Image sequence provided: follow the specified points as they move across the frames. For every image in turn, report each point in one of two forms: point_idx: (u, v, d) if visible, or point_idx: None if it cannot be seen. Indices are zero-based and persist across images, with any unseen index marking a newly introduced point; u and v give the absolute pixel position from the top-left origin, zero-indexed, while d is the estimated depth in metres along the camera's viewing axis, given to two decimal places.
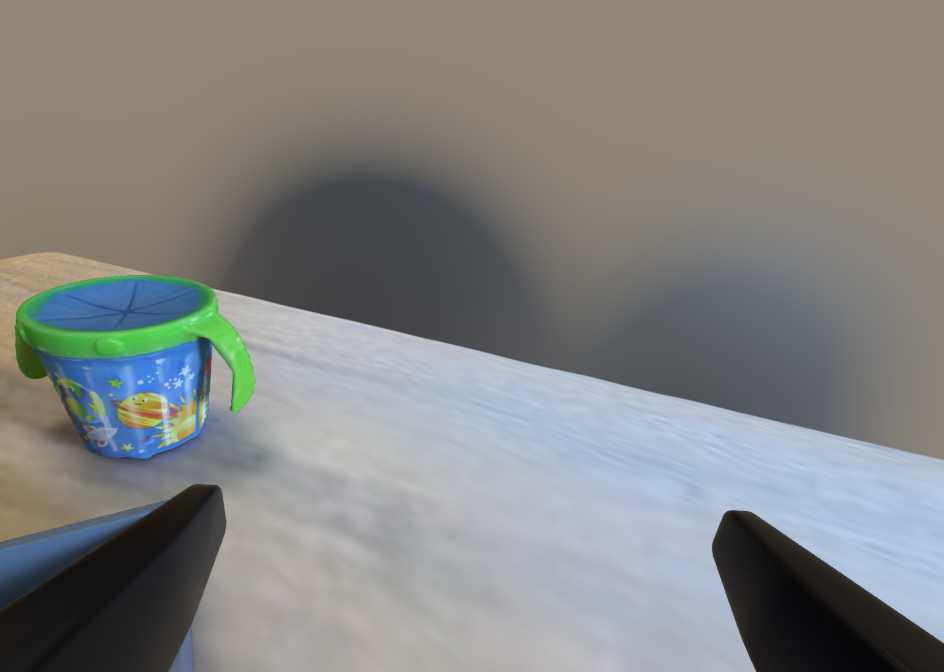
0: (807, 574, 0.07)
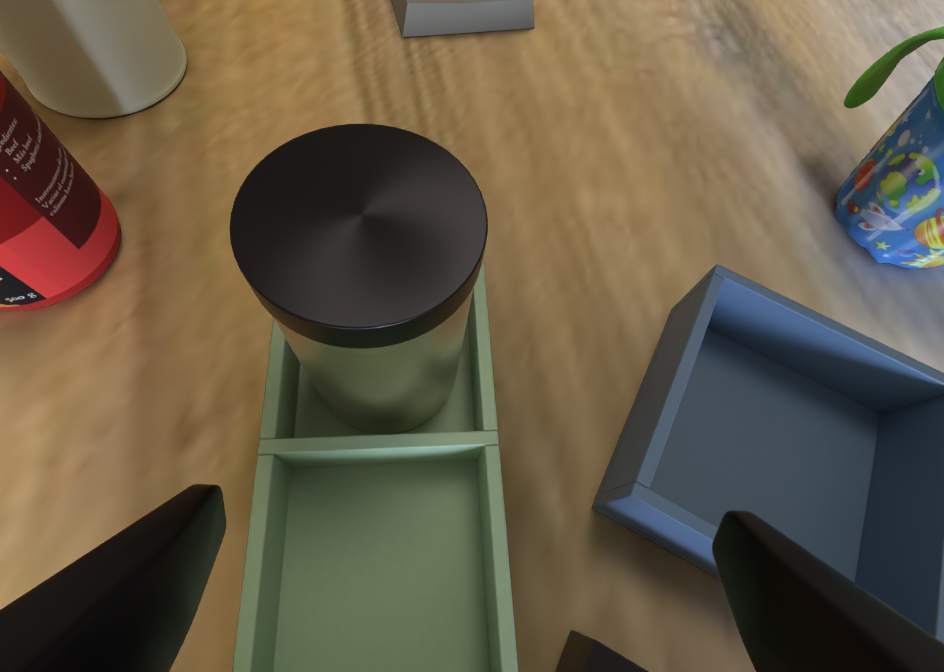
0: (807, 574, 0.07)
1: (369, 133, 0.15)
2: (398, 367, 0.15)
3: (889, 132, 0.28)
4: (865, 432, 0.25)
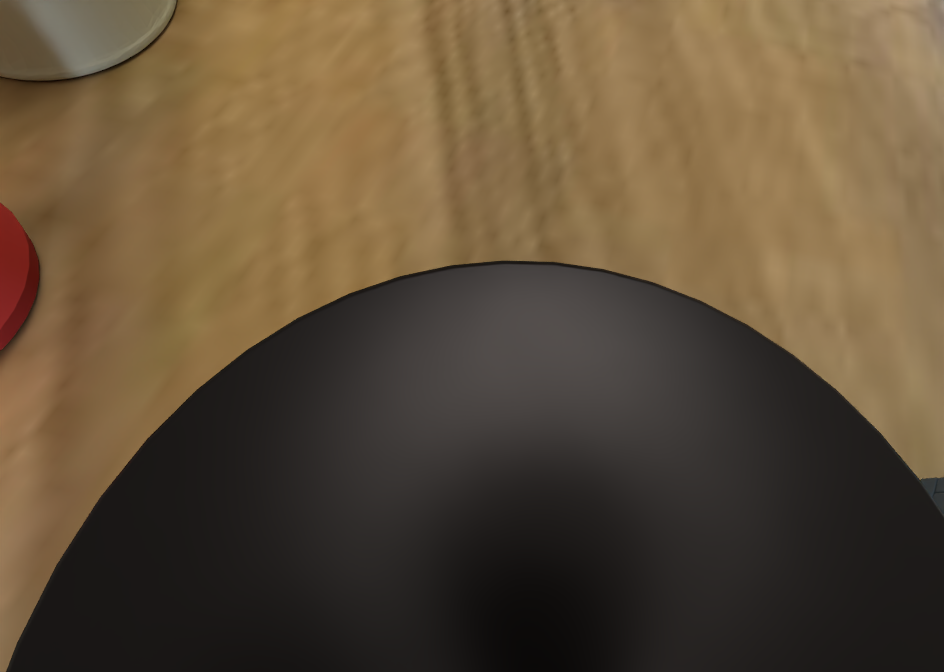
0: None
1: (565, 304, 0.04)
2: None
3: None
4: None
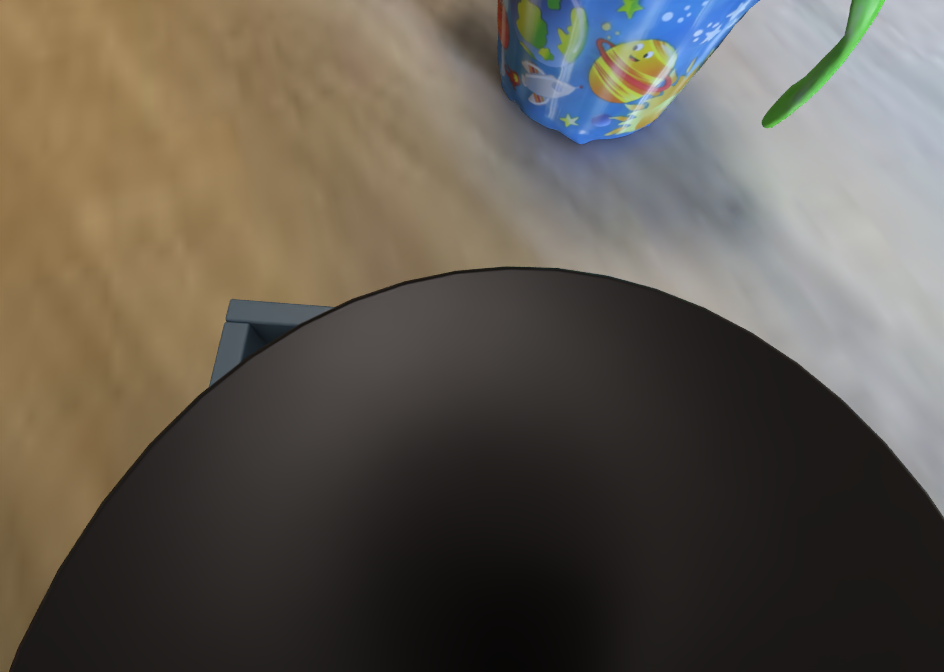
0: None
1: (569, 310, 0.04)
2: None
3: None
4: None
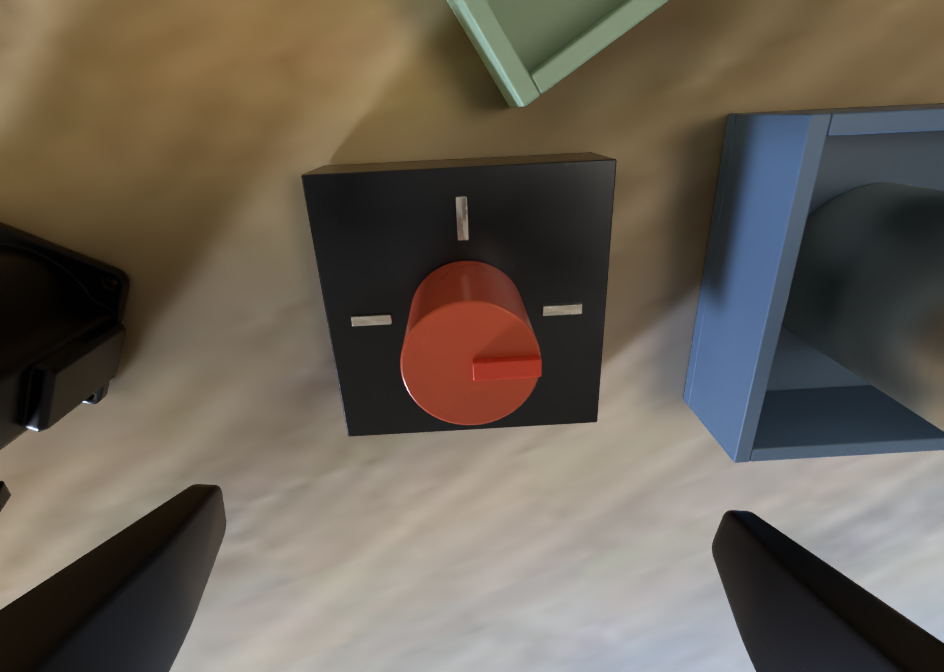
0: (807, 574, 0.07)
1: None
2: None
3: None
4: None
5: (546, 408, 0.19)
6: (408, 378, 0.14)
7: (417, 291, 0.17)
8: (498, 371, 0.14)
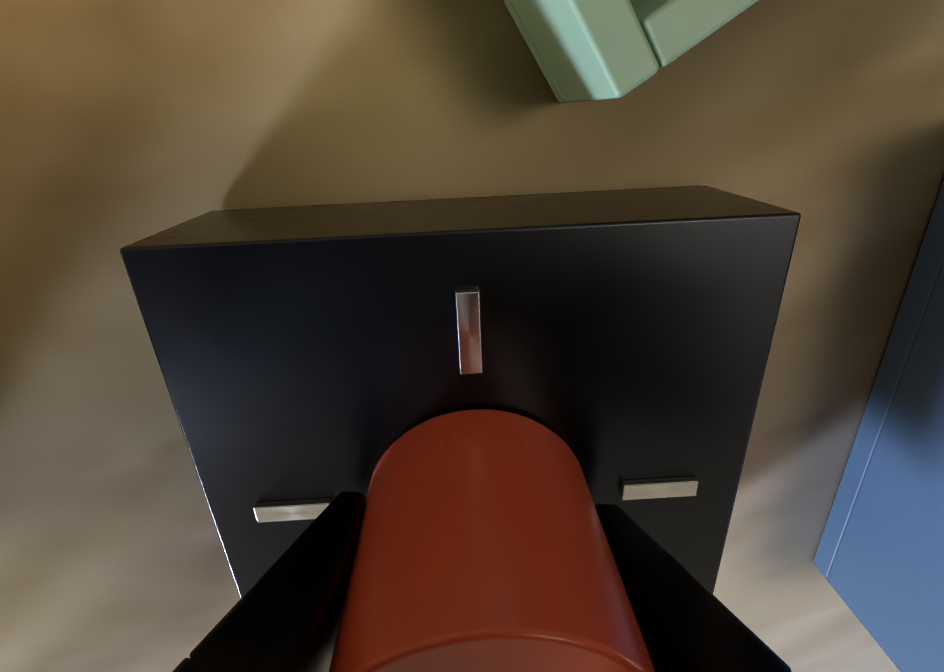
0: (646, 568, 0.07)
1: None
2: None
3: None
4: None
5: None
6: None
7: (378, 472, 0.08)
8: None
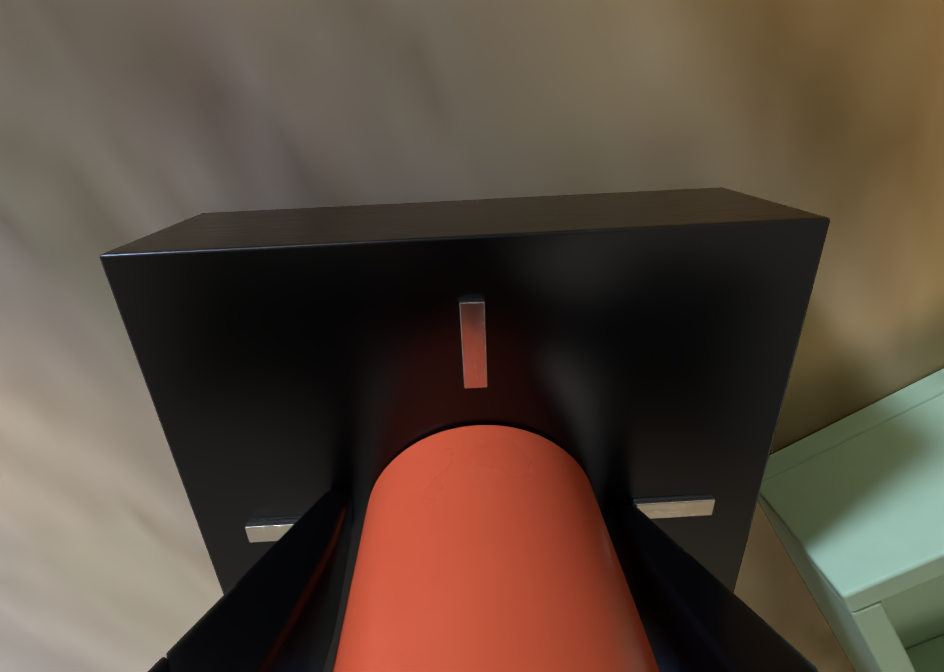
0: (668, 568, 0.07)
1: None
2: None
3: None
4: None
5: None
6: None
7: (377, 491, 0.08)
8: None
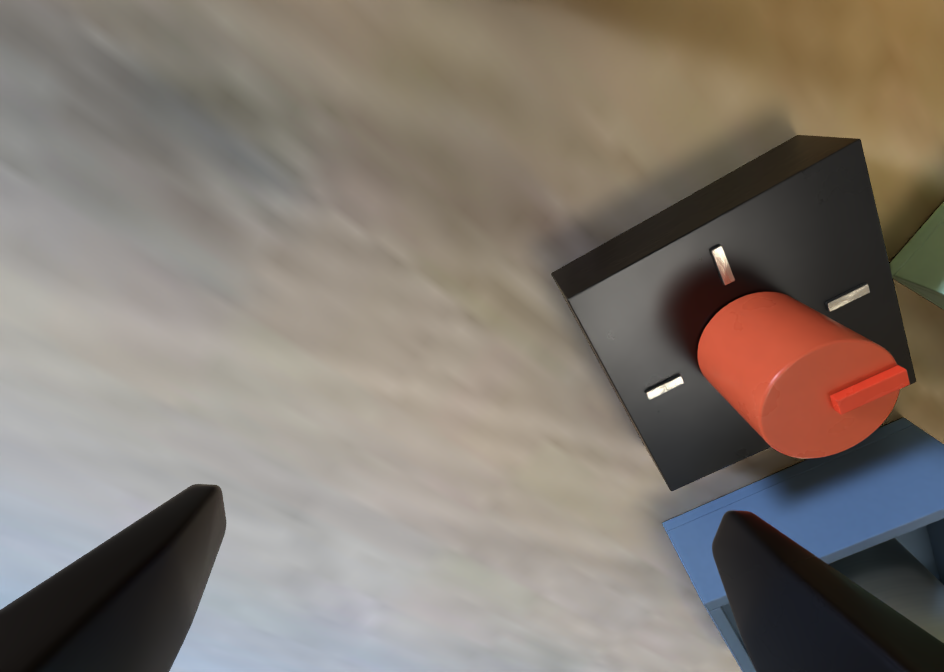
0: (807, 574, 0.07)
1: None
2: None
3: None
4: None
5: (672, 448, 0.20)
6: (771, 436, 0.14)
7: (704, 346, 0.17)
8: (864, 397, 0.14)
